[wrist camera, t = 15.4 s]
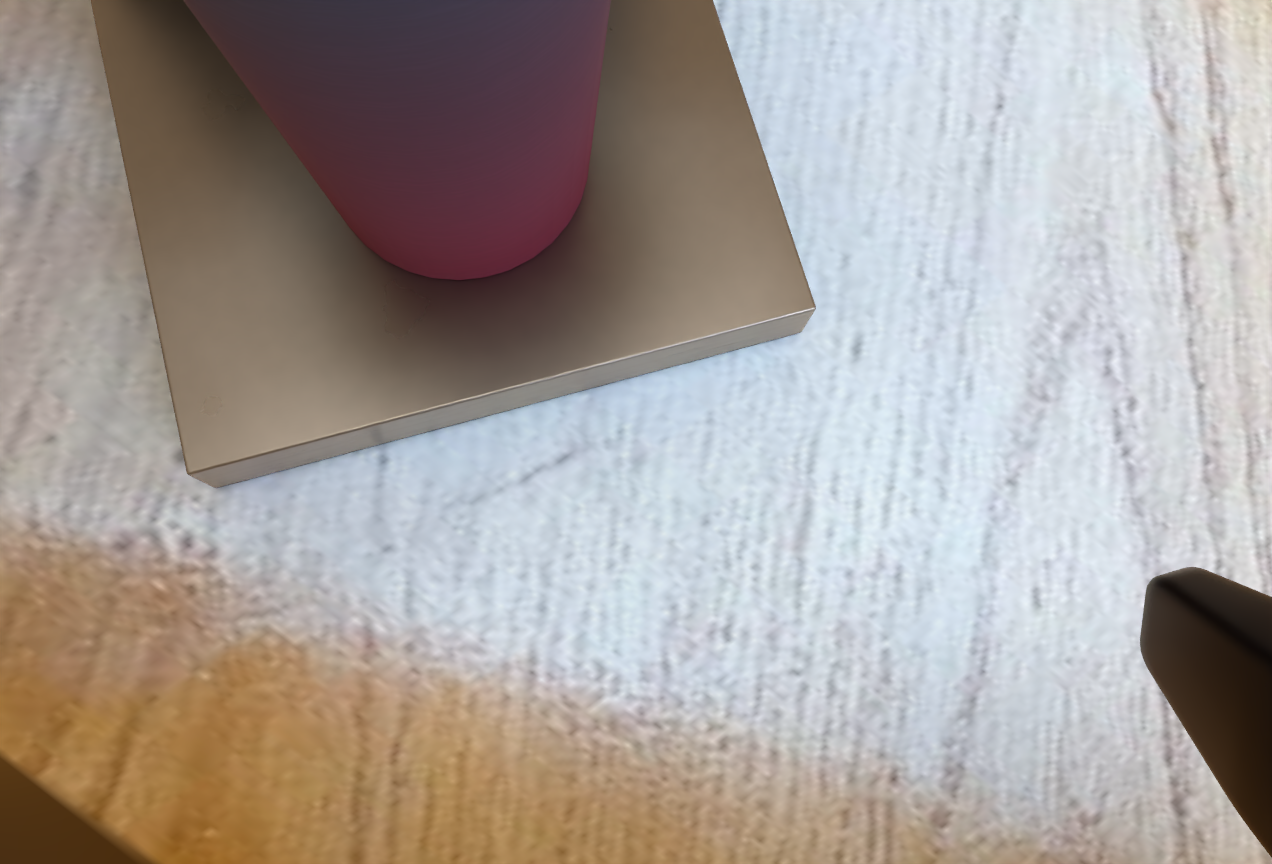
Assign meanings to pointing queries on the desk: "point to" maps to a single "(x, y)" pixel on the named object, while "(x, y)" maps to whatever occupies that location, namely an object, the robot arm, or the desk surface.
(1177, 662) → the robot arm
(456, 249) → the cup
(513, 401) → the grey tray
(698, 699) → the desk surface
